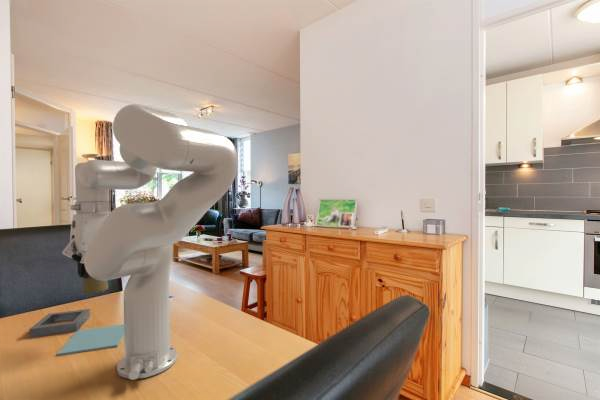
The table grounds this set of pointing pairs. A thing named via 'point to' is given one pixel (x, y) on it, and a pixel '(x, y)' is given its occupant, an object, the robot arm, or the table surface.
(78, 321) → the square socket
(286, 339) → the table surface
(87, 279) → the cork
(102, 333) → the rubber mat
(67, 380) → the table surface
